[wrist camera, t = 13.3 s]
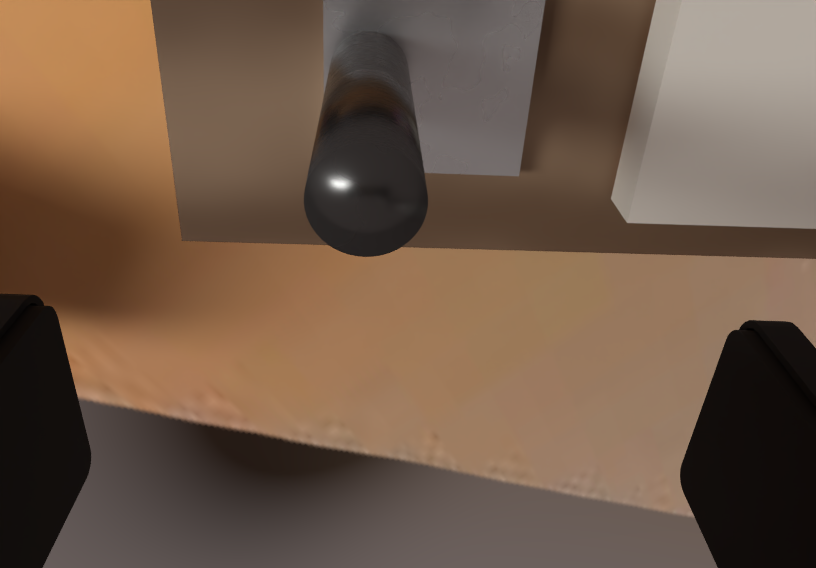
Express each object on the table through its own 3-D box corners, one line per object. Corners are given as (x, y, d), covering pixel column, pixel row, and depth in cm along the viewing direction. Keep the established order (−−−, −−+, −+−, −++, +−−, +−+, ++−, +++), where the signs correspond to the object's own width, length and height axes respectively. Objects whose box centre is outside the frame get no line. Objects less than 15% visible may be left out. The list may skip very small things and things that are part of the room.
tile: (608, 195, 27) (859, 204, 27) (626, 223, 25) (896, 231, 25) (667, -67, 22) (969, -49, 23) (695, -58, 20) (1024, -39, 21)
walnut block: (744, 152, 39) (874, 260, 29) (234, 132, 37) (182, 240, 27) (839, -142, 32) (1060, -136, 21) (209, -184, 30) (124, -199, 20)
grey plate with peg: (515, 167, 26) (591, 342, 17) (325, 160, 26) (298, 336, 16) (545, -38, 22) (663, 43, 13) (324, -51, 22) (288, 24, 13)
